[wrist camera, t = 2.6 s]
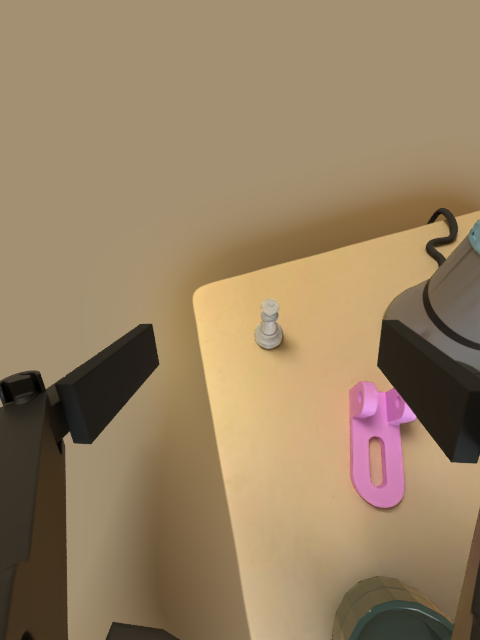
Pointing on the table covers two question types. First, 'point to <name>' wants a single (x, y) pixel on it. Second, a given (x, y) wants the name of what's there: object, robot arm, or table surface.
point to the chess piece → (269, 325)
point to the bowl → (389, 613)
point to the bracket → (384, 424)
